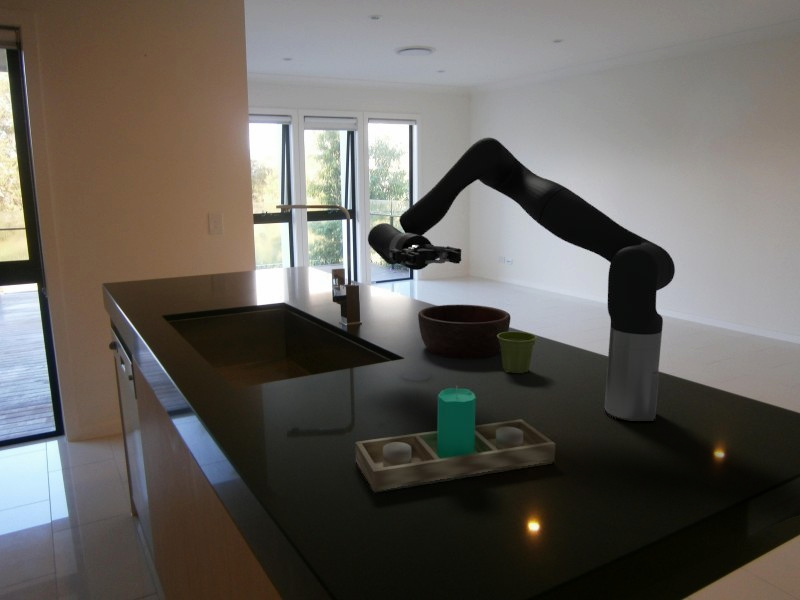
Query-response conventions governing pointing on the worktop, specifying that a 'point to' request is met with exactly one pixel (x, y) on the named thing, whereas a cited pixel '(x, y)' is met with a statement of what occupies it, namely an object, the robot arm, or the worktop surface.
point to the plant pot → (516, 350)
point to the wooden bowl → (463, 330)
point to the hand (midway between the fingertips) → (438, 259)
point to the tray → (419, 462)
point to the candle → (455, 423)
